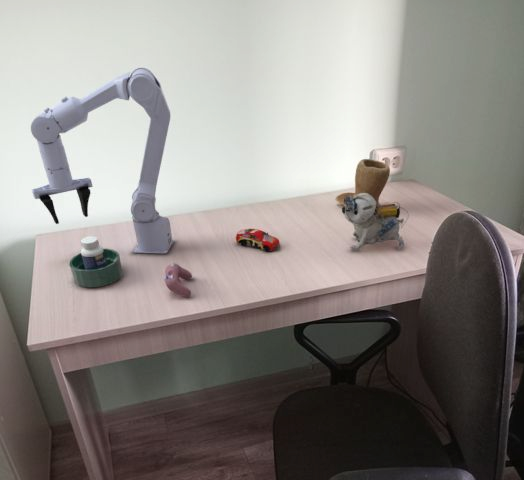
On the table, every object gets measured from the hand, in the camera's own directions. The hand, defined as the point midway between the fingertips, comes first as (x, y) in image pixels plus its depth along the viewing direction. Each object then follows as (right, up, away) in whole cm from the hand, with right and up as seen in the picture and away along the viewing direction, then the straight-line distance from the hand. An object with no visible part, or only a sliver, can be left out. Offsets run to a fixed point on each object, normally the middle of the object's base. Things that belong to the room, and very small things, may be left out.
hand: (71, 219), depth 131 cm
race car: (+49, -6, +8) cm, 50 cm away
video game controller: (+31, -20, -10) cm, 38 cm away
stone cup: (+83, +10, +26) cm, 87 cm away
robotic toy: (+80, -6, +5) cm, 81 cm away
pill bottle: (+9, -16, -4) cm, 19 cm away
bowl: (+9, -16, -4) cm, 19 cm away
